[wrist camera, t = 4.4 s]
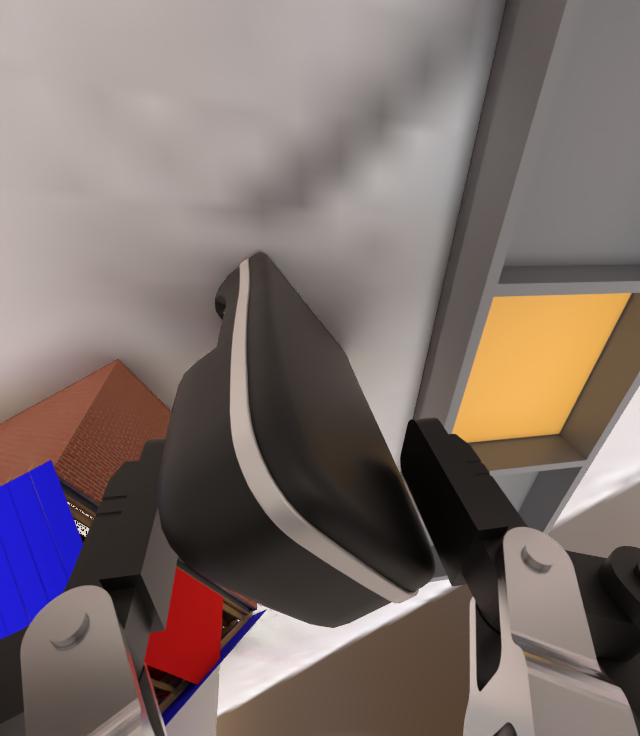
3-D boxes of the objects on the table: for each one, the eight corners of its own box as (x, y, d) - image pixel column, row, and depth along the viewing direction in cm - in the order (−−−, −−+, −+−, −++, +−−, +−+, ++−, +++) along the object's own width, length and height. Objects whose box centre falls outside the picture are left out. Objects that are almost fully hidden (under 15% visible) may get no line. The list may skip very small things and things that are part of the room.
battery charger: (187, 297, 15) (89, 582, 6) (258, 240, 14) (282, 459, 5) (288, 396, 19) (331, 665, 9) (349, 355, 18) (462, 604, 9)
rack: (530, -105, 10) (619, -183, 8) (804, -59, 12) (951, -111, 9) (384, 546, 27) (398, 586, 25) (506, 529, 29) (530, 565, 26)
